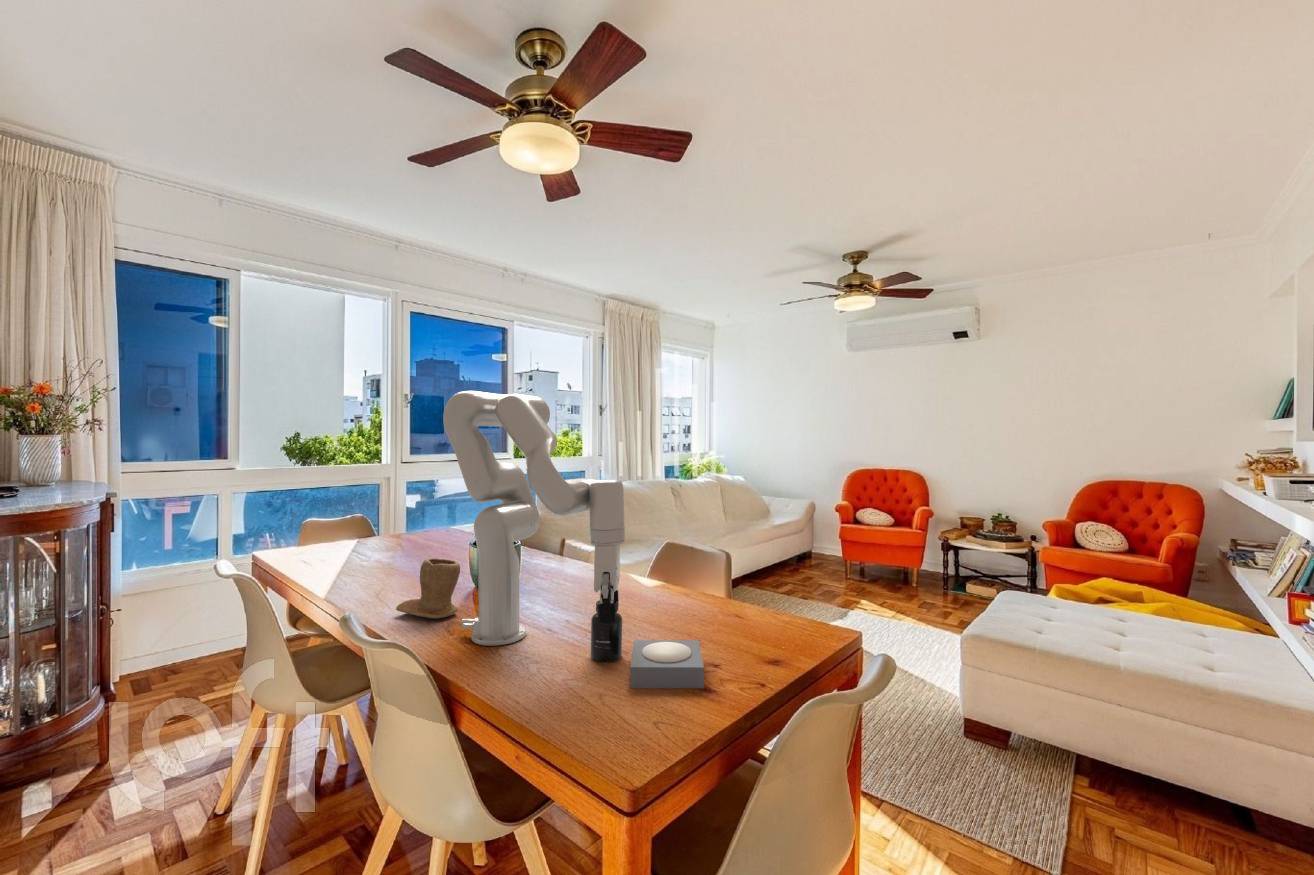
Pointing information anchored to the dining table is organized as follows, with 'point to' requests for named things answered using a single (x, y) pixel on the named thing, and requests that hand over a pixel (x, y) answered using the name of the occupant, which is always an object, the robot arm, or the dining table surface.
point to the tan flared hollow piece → (434, 590)
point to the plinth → (667, 664)
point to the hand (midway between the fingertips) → (609, 614)
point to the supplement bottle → (606, 637)
